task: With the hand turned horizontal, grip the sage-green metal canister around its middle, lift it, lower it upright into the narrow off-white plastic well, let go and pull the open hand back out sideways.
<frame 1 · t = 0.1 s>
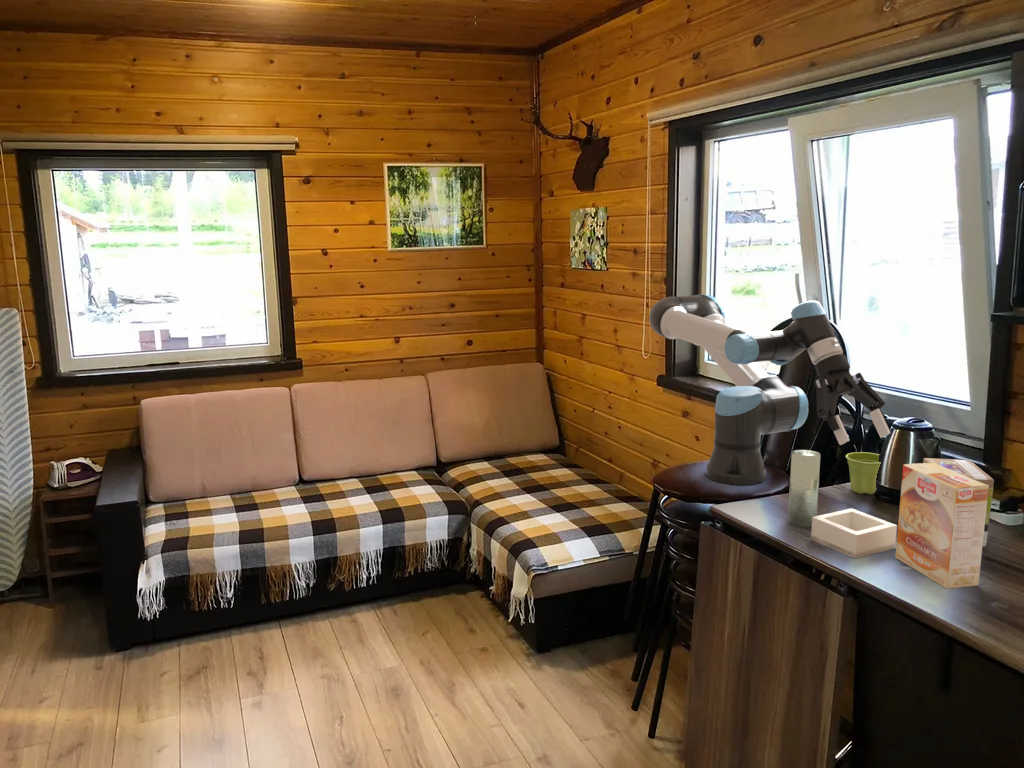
hand: (865, 439, 195), 15 cm above the worktop, tool tilted 35°, fingers open, 13 cm apart
canister: (801, 522, 185), on the worktop
tea box: (950, 534, 178), on the worktop
well: (852, 543, 172), on the worktop
plant pot: (863, 491, 206), on the worktop
coffeecake box: (934, 572, 159), on the worktop
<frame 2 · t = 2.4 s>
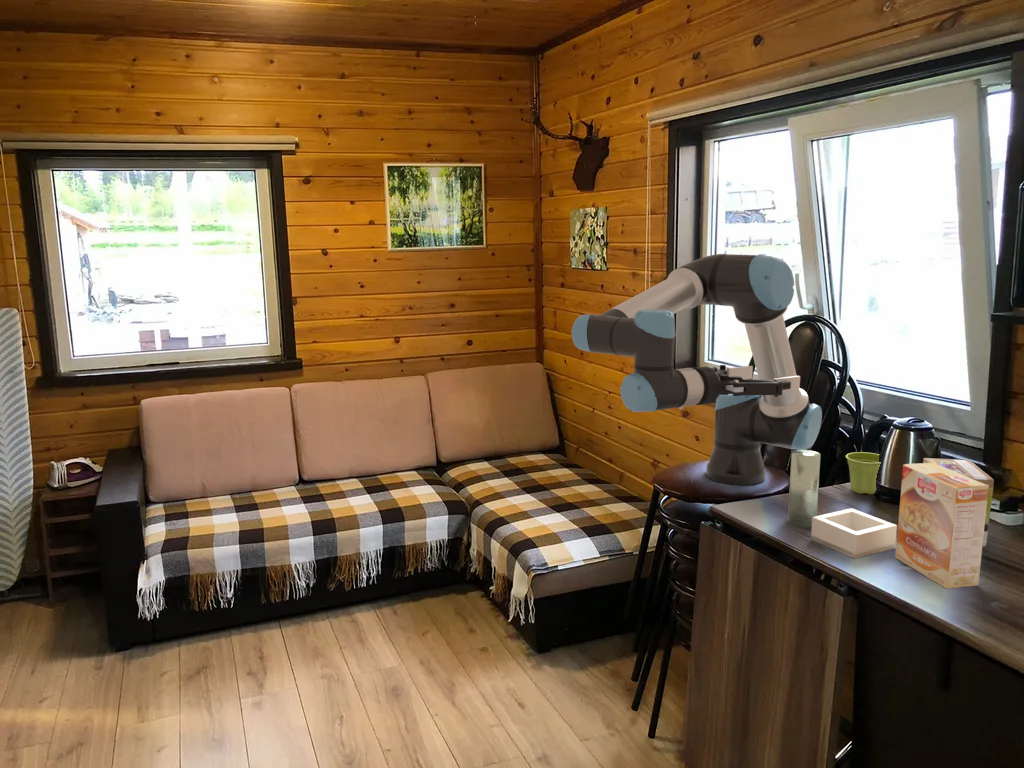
hand: (774, 377, 173), 34 cm above the worktop, tool horizontal, fingers open, 13 cm apart
nothing on the worktop moved.
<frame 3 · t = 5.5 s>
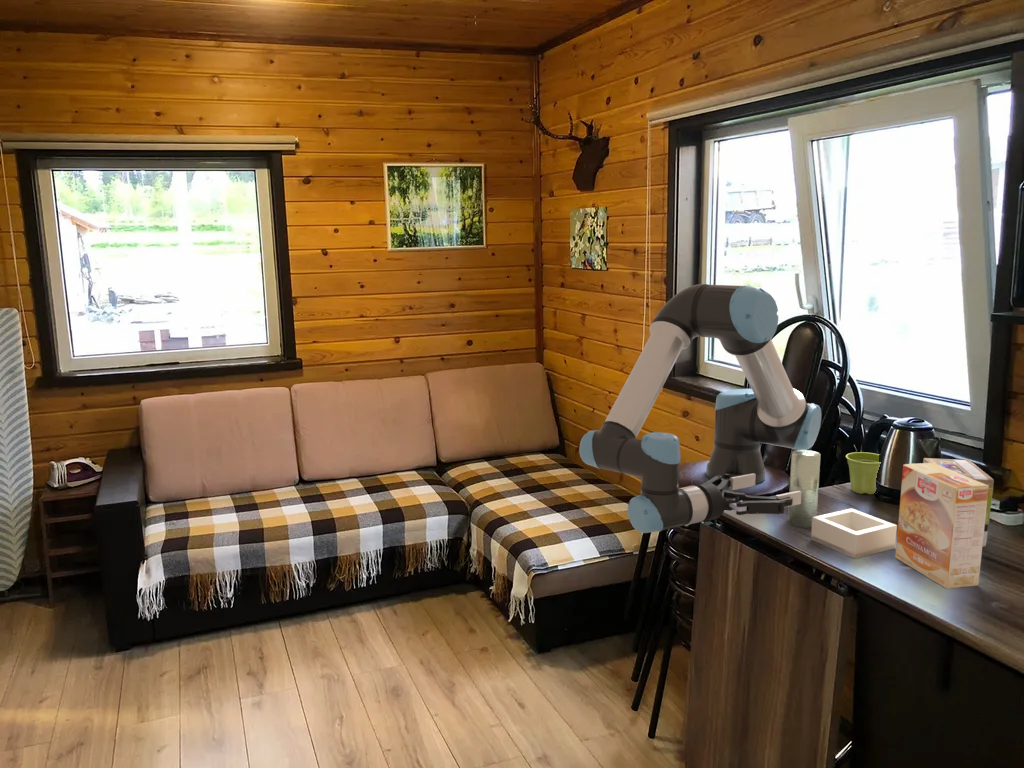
hand: (776, 488, 179), 9 cm above the worktop, tool horizontal, fingers open, 13 cm apart
nothing on the worktop moved.
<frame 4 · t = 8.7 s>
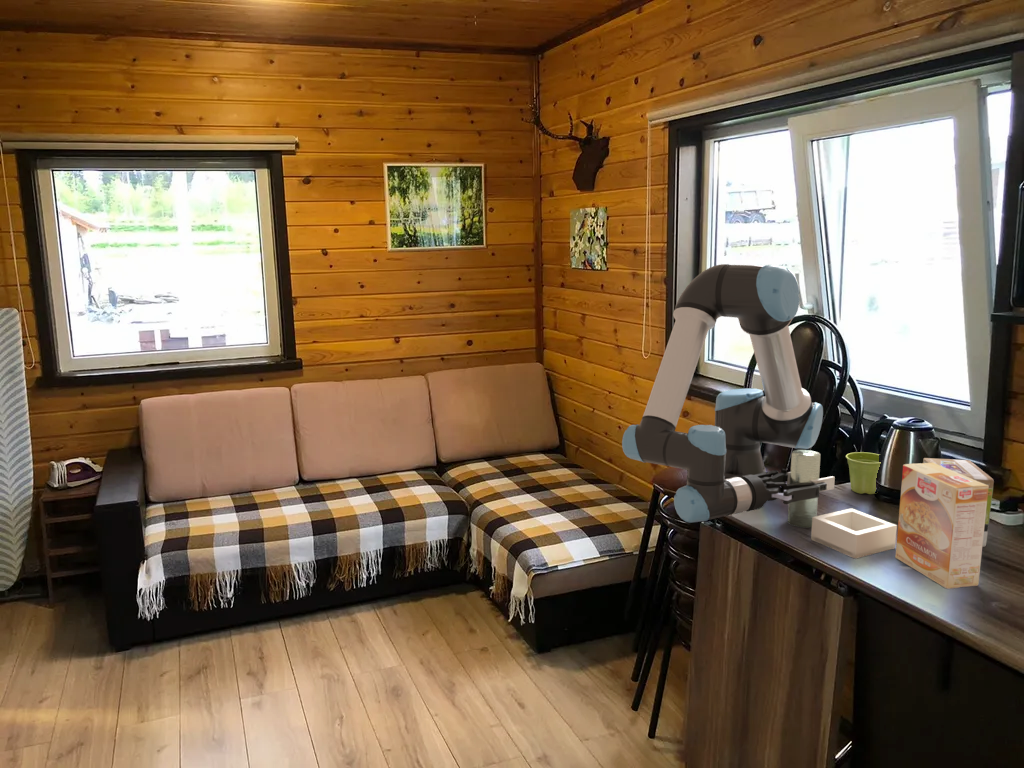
hand: (821, 478, 185), 10 cm above the worktop, tool horizontal, fingers closed on canister, 6 cm apart
canister: (801, 522, 185), on the worktop, touching gripper
everything else where it was.
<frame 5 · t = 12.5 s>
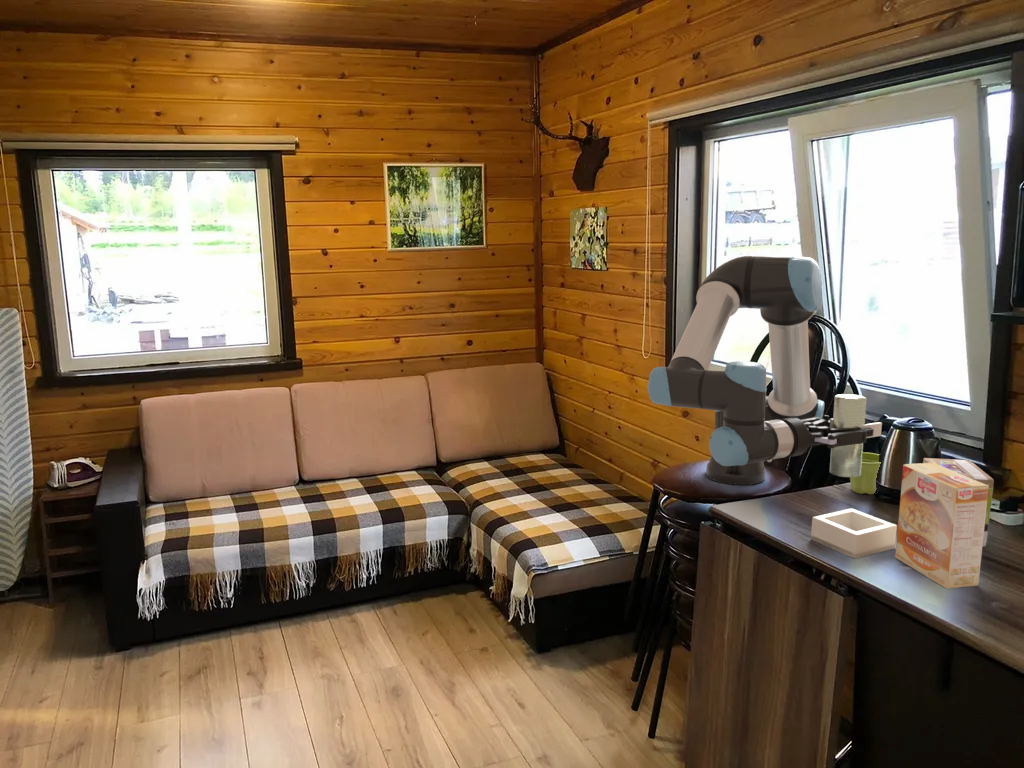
hand: (866, 425, 172), 24 cm above the worktop, tool horizontal, fingers closed on canister, 6 cm apart
canister: (845, 472, 171), point 15 cm above the worktop, touching gripper
everything else where it was.
when the fingers open (11 cm above the worktop, at t = 16.6 s): canister stays where it is, resting on well.
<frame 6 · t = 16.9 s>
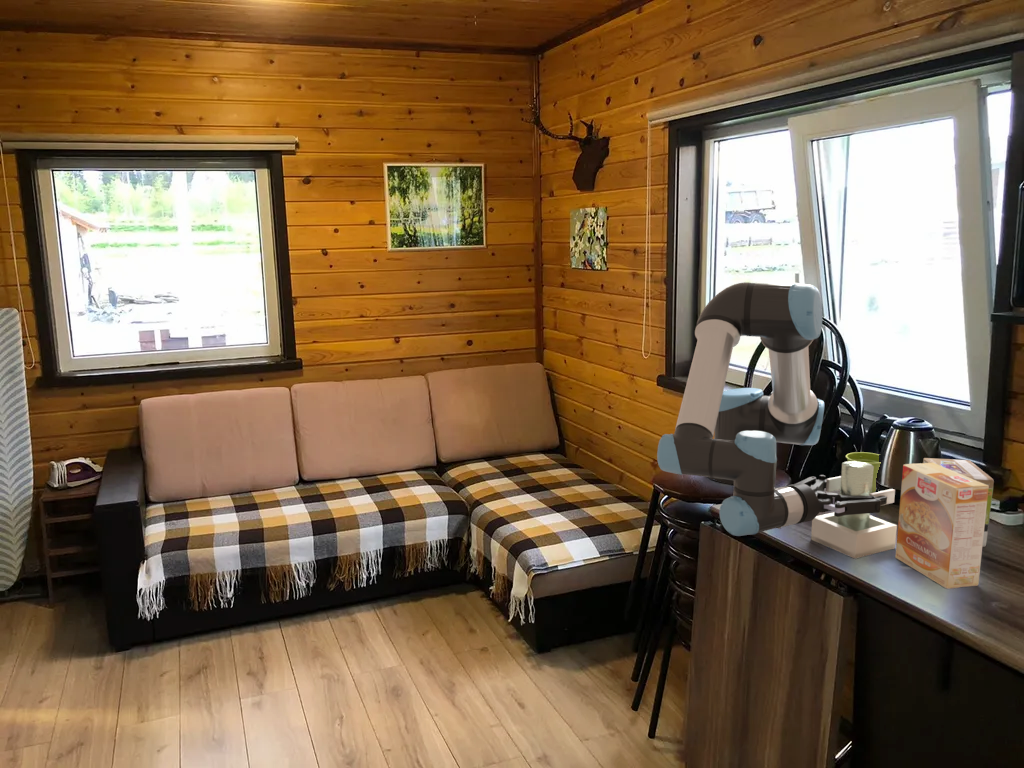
hand: (870, 488, 172), 11 cm above the worktop, tool horizontal, fingers open, 10 cm apart
canister: (852, 539, 172), point 1 cm above the worktop, touching well
everything else where it was.
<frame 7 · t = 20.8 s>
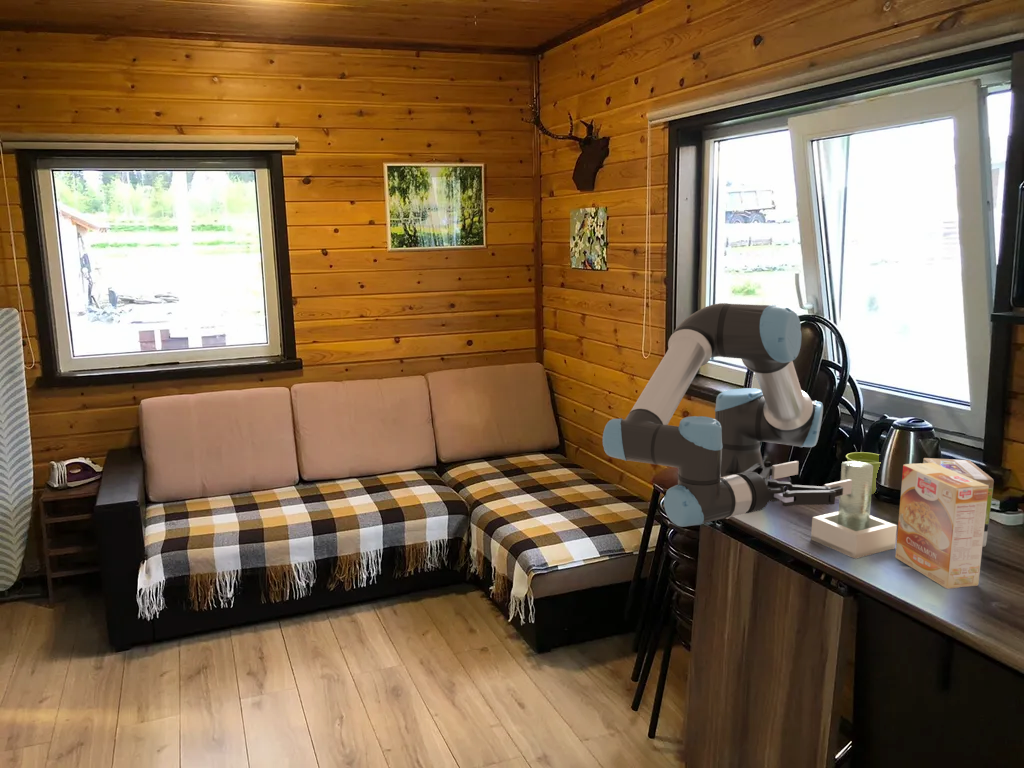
hand: (822, 476, 165), 16 cm above the worktop, tool horizontal, fingers open, 13 cm apart
nothing on the worktop moved.
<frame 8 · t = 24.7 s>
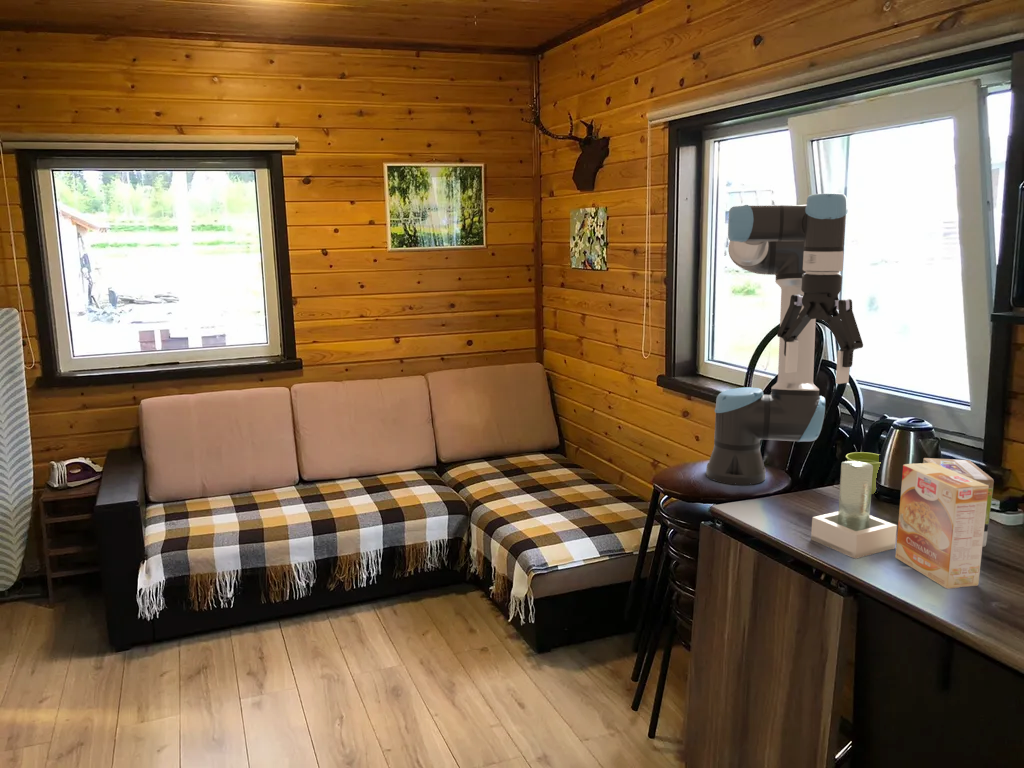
hand: (815, 377, 169), 35 cm above the worktop, tool pointing down, fingers open, 13 cm apart
nothing on the worktop moved.
at the end: canister 0.1 cm off-centre on the well, point 1.0 cm above the well's base; canister tilted 1°; the gripper is holding nothing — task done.
